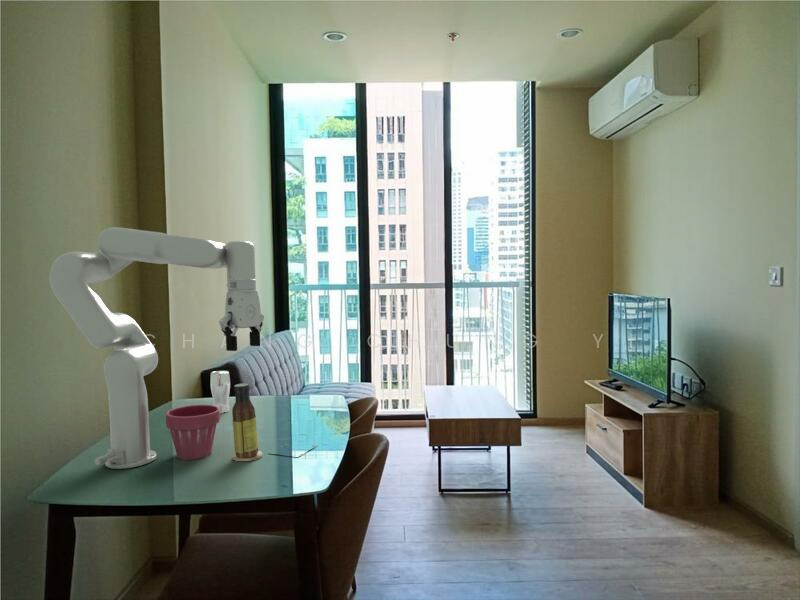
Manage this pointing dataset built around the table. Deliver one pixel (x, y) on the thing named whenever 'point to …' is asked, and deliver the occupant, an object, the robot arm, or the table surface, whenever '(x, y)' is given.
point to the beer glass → (220, 389)
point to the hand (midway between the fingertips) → (243, 348)
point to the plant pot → (193, 430)
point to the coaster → (247, 458)
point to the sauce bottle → (244, 423)
